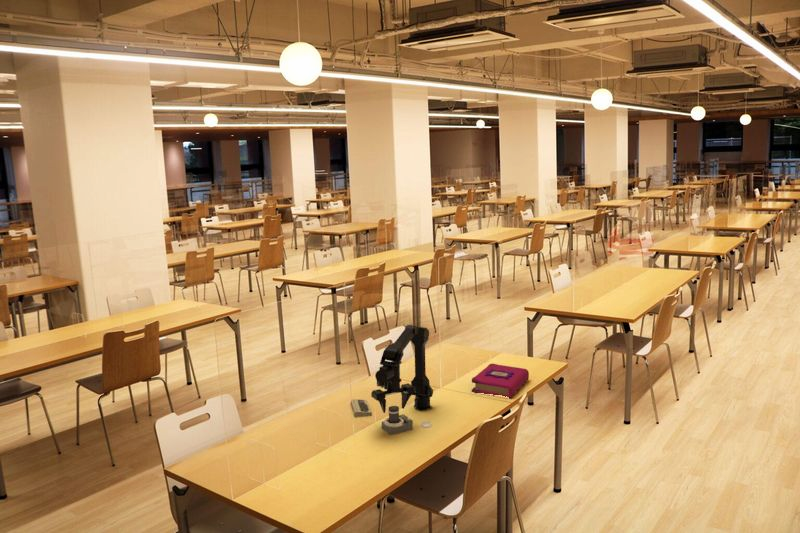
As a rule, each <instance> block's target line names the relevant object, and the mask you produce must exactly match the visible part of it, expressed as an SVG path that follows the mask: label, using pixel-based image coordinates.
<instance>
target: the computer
mask: <svg viewBox="0 0 800 533" xmlns="http://www.w3.org/2000/svg"><path fill="white" fill-rule="evenodd" d="M351 405H352V406H351ZM350 406H351V410H352V409H353V410H352V413H353V412H354V413H353V415H354V416H353V417H354V418H362V417H372V416H373V413H372V411H371V408H370V405H369V403H368V400H367V399H361V398H360V399H357V398H355V399H354V398H353V399H351V400H350Z"/></svg>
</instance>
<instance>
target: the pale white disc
mask: <svg viewBox="0 0 800 533" xmlns="http://www.w3.org/2000/svg"><path fill="white" fill-rule="evenodd" d="M420 426H421V427H422V428H425V429H427V428H432V426H433V423H432V422H429V421H423V422H420Z"/></svg>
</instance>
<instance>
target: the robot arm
mask: <svg viewBox="0 0 800 533" xmlns="http://www.w3.org/2000/svg"><path fill="white" fill-rule="evenodd" d="M429 330H430V329H428V328H427V327H423V326H417V325H415V324H406V326H405V327H404V330H403V331H402V332H401V333H400V335H399V336H398V338H397V339H396V340H395V341H394V342H393V343H389V344H388V346H386V347H385V349H383V352H382V356H381V359H380V363H379V365H380V367H379V370H377V371H376V372H375V375H374V377H375V379H376V386H377V387H380V388H381V389H380V388H379V389H373V390H371V395H370V396H371V398H373V399H374V400H375V401H378V403H379V404H380V408H381V410H382V412H383V413H384V414H385V413H386V411H387V399H386V396H389V395H394V394H398V393H399V394H400V395H401V409H403V410H404V409H405V407H406V405H407V404H408V401H409V400H410V398H411V396H414V397H415V398H414V405H413V407H414V408H415V409H417V410H418V411H420V412H421V411H426V410H430V409H433V407H432V406H431V398H432V397H433V395H434V389H433V388H432V387H431V385H430V383H431V382H430V380H429V377H428V376H427V374H426V373H427V372H426V344H427V342H428V341H429V337H430V331H429ZM410 342H411V343H412V344H413V347H414V348H413V349H414V377H413V379H412V380H411V381H410V383H404V384H401V382H402V378H401V364H402V362H403V361H402V358H403V357H404V350H405V349H406V347H407V346H408V345H409V343H410ZM382 389H384V390H382Z"/></svg>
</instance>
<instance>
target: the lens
mask: <svg viewBox="0 0 800 533" xmlns="http://www.w3.org/2000/svg"><path fill="white" fill-rule="evenodd" d="M387 412H388V418H389V423H394V424H395V423H399V415H400V407H399V406H397V405H391V406H389V407H388V410H387Z"/></svg>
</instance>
